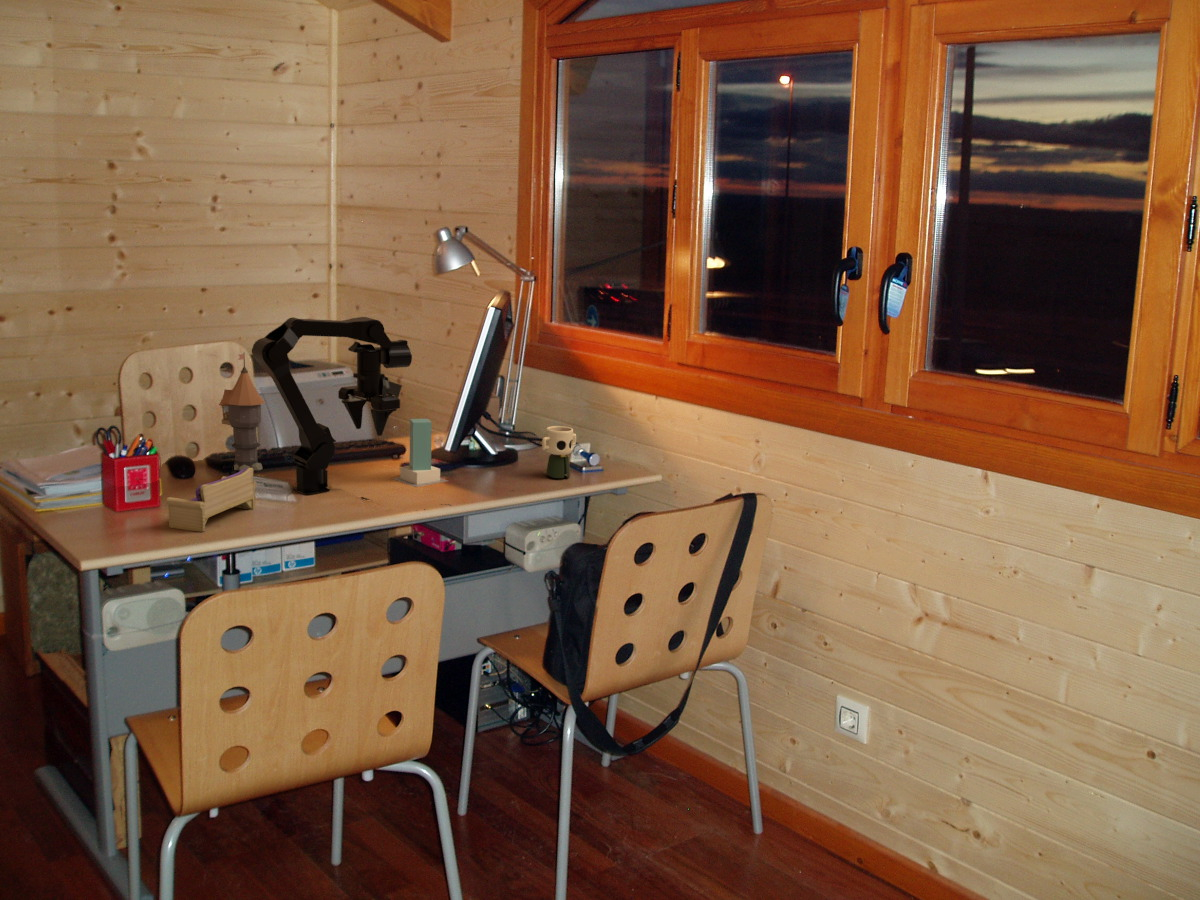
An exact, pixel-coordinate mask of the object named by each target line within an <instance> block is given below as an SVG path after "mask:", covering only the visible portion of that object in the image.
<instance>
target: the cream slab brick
mask: <svg viewBox="0 0 1200 900" xmlns="http://www.w3.org/2000/svg"><path fill="white" fill-rule="evenodd" d="M399 468H400V469H399V471H400V472H399V473H400V474H399V477H400V479H402V480H405V481H408V482H411V483H414V484H416V485H418V484H424V483H429V482H435V481H440V478H441V468H439V467H436V466H433V465H431V470H415V471H413V470H412V469H411V467H410V465H405V466H400V467H399Z"/></svg>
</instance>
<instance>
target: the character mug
mask: <svg viewBox="0 0 1200 900" xmlns="http://www.w3.org/2000/svg"><path fill="white" fill-rule="evenodd" d="M545 429H546V430H545V437H542V441H541V448H542V449H541V450H544V451H545V452H546V453H548V454H550V455H548V460H547V461H548V462H547V464H546V465H547V467H546V476H548V477H550V478H553V479H564V478H565V475H566V478H569V477H570V476H571V472H570V471H571V470H570V460H569V459H570V458H569V456H568V455H569V454H571V453H572V452H573V450H574V446H576V444H577V434H576V433H574V428H572V427H571V426H570V427H569V426H563V425H561V426H560V425H553V426H548V427H546V428H545Z"/></svg>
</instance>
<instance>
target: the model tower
mask: <svg viewBox="0 0 1200 900" xmlns="http://www.w3.org/2000/svg"><path fill="white" fill-rule="evenodd" d="M238 356H239V358H238V360H239V361H240V360H243V368H242V369H241V370H240V374H239V376H238V378H237V381H236V382H235V384H234V385H233V388H232V389H225V388H224V391H223V395H222V398H221V400H220V402H219V404H218V406H220V407H221V410H222V419H221V424H222V425H227V426H230V427H231V428H232V431H233V432H232V433H233V434H232V435H233V443H231V447H232V448H233V449H234V464H233V466H234V470H233V471H238V472H239V471H241V470H243V469H246V468H253V471H261V470H263V465H262V463H261V462H259V460H258V448H259V447H260V446H261V443H260V442H258V436H257V428H259V426H260V423H261V421H262V406H261V405H263V404H266V402H265V400H264V399H263V398H262V397H261V395H260V394H259V392H258V390H257V389H256V387H255V385H254V383H253V381H252V379H251V375H250V374H249V370H248V369H247V368H246V362H245V361H246V359H245V352H243V353H241V354H238ZM225 407H227V408H228V409H227V411H226V412H225V410H224V409H225Z"/></svg>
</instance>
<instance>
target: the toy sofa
mask: <svg viewBox="0 0 1200 900" xmlns="http://www.w3.org/2000/svg"><path fill="white" fill-rule="evenodd" d="M257 485H258V483H257V481H255V480H254V470H253V468H246V469H243V470H241V471H239V470H238V472H236V473H234V474H230V475H228V476H224V475H223V476H222V477H221V479H219V480H214V481H212V482H208V483H203V484H202V483H201V484H200V485H198V486H197V488H195V493H194V494H195V497H193V498H190V499H186V498H185V499H184V498H178V497H171V496H169V497H167V498H166V505H167V506H168V524H169V525H168V526H169V528H170V529H176V530H177V529H178V530H183V531H193V532H200V533H202V532H205V531H206V524H207V522H208V520H209V518H211V517H213V516H216V515H217V514H220V513H223V512H225V511H227V510H229V509H233V508H238V509H245V510H250V511H251V510H256V488H257Z"/></svg>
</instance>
